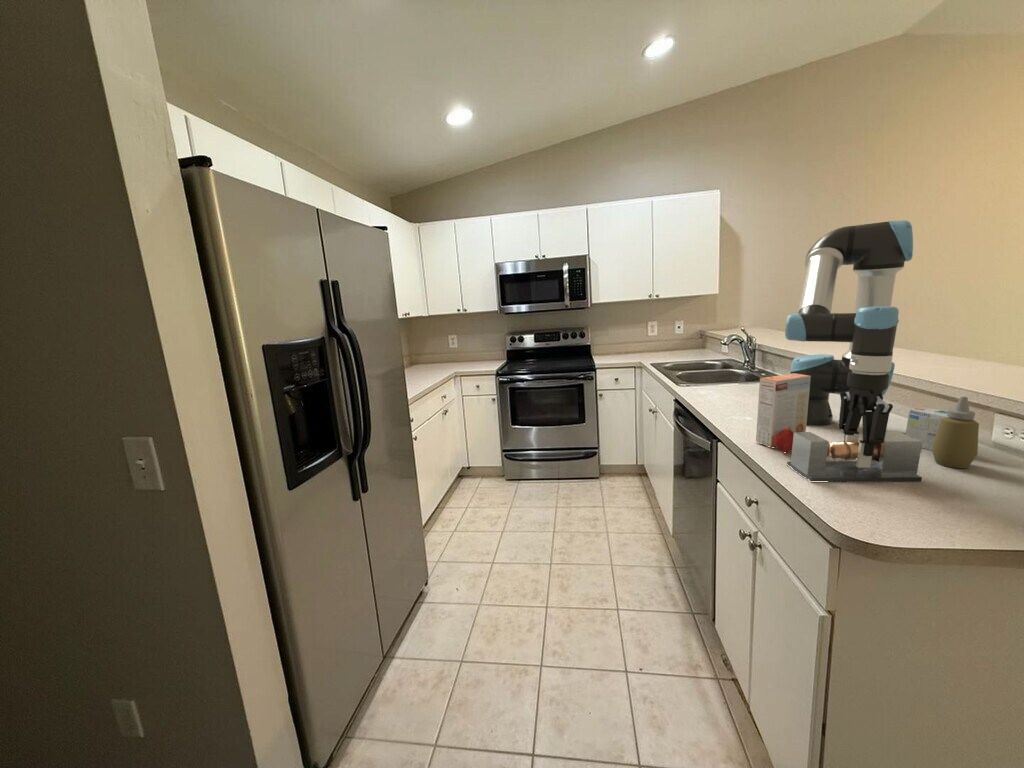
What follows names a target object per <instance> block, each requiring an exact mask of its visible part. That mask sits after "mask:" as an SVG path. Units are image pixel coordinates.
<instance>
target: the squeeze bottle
mask: <svg viewBox="0 0 1024 768" xmlns="http://www.w3.org/2000/svg"><path fill="white" fill-rule="evenodd" d="M947 411H948V412H947V416H948V417H944V418H942V419H941V421H940V424H939V427H938V429H937V432H936V435H935V438H934V441H933V444H932V447H931V448H932V450H931V451H932V455H933V458H934V461H935V462H936V463H937V464H939V465H942V466H944V467H949V468H955V469H968V468H969V466H970V465H971V464H972V463H973V461H974V460H975V459H976V458H977V456H978V451H979V427H980V426H979V425H980V423H978V421H976V420H974V419H975V417H976V412H975V411H973V410H970V406H969V398H968V397H967V396H960V397H959V400H958V402H957V403H956V405H955V407H954V408H949V409H948V410H947Z"/></svg>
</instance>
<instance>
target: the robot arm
mask: <svg viewBox="0 0 1024 768" xmlns="http://www.w3.org/2000/svg"><path fill="white" fill-rule="evenodd" d="M913 251H914V235H913V226H912V224H911V222H910V221H909V220H888V221H881V222H874V223H866V224H857V225H848V226H842V227H838V228H836V229H833V230H831V231H830V232H828V233H826V234H824V235H823V236H822V237H820V238H819V239H818V240H817V241H815V242H814V243H813V244H812V246H811V247H810V248H809V250H808V251H807V253H806V256H805V260H804V267H805V269H806V272H805V277H804V281H803V287H802V292H801V296H800V300H799V304H798V310H797V312H796V313H790V314H788V315H787V316H786V321H785V328H784V336H785V338H786V340H788V341H797V342H824V343H825V342H826V343H827V342H829V343H830V342H832V343H833V342H835V343H849V346H848V347H849V348H848V350H846V351H845V352H844V353H842V355H841V359H835V357H834V355H833V354H810V355H809V354H807V355H802V356H797V357H795V358H794V359H792V360H791V361H792V362H791V367H790V370H789V372H790V374H792V373H796V374H802V375H808V376H811V379H810V390H809V401H808V412H807V423H806V426H814V427H817V426H818V427H820V426H822V427H823V426H829V425H832V424H833V420H834V419H833V418H834V417H833V412H832V407H831V405H830V402H829V401H830V400H829V398H830V394H834V395H835V394H836V395H839V396H840V409H839V418H838V419H839V421H838V429H839V430H842V432H843V434H844V437H843V438H844V439H843V442H859V449H858V456H857V458H850V459H843V461H857V463H856V467H858V468H863V467H870V465H871V458H872V456H873V453H874V447H875V444H876V443H884V439H885V434H886V432H887V427H888V422H889V416H890V413H891V411H892V410H893V407H894V406H893V404H892V403H887V402H886V401H884V396H885V394H886V393H887V392H888V390H889V387H890V385H891V381H892V379H893V376H894V372H895V371H894V370H895V367H896V366H895V362H893V356H894V355H893V354H894V351H893V350H894V347H895V340H896V335H897V328H898V324H899V311H900V310H899V308H898V307H896V306H892V301H893V295H894V288H895V281H896V275H897V273H898V272H899V271H901V270H902V269H904V268H905V262H909V261H912V259H913V256H914V255H913V253H914V252H913ZM850 265H851V266H853V267H852V271H853V272H854V273H856V275H858V276H857V286H856V293H855V300H854V307H853V312H848V313H846V312H843V313H841V312H840V313H839V312H837V313H836V312H834V313H833V312H831V311H832V306H833V302H834V301H833V300H834V296H835V294H834V293H835V287H836V283H837V282H836V281H837V275H838V270H839V269H840V268H841V267H842V266H850ZM861 420H862V422H861ZM860 423H862V426H861V427H862V439H861V440H859V438H860V435H859V434H860V432H859V431H858V430H859V427H860Z"/></svg>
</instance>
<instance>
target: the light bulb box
mask: <svg viewBox="0 0 1024 768" xmlns="http://www.w3.org/2000/svg"><path fill="white" fill-rule="evenodd" d="M947 412H948V410H944V409H937V408H932V407H928V406H921V407H913V408H909V410H908V417H907V422H906V428H905V435H907V436H910V437H913V438H915V439H918V440H921V441H923V442H922V447H921V449H926V450H929V451H932V448H931V447H932V444H933V441H934V438H935V435H936V432H937V429H938V427H939V424H940V421H941V419H942V418H944V417H948V416H947Z"/></svg>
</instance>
